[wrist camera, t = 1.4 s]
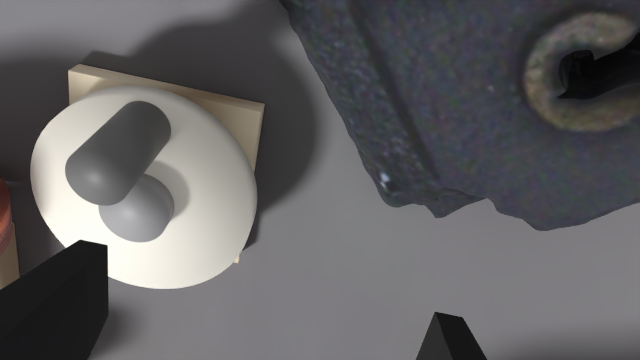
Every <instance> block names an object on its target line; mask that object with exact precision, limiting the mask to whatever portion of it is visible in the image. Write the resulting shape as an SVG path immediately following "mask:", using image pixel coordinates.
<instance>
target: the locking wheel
mask: <svg viewBox="0 0 640 360" xmlns="http://www.w3.org/2000/svg"><path fill="white" fill-rule="evenodd" d="M30 178H31V185H32V191H33V194H34V198H35V201H36V204H37V206H38V208H39V211H40V213H41V215H42V217H43V219H44V220H45V222H46V224H47V225H48V227H49V228H50V230H51V231H52V232H53V234H54V235H55V236H56V238H57V239H58V240H59V241H60V242H61V243H62V244H63V245H64V246H65V247H66V248H67V247H69V246H70V245H72V244H73V243H75V242H77V241H78V240H85V241H90V242H95V243H100V244H105V245H108V276H109V277H111V278H113V279H116V280H119V281H122V282H125V283H128V284H132V285H136V286H141V287H147V288H157V289H173V288H182V287H188V286H192V285H195V284H199V283H202V282H204V281H207V280H209V279H211V278H213V277H215V276H216V275H218V274H220V273H221V272H223V271H224V270H225V269H226V268H227V267H229V266H230V265H231V264H232V263H233V261H234V260H235V259H236V258H237V257H238V256H239V254H240V252H241V251H242V249H243V248H244V246H245V243H246V241H247V239H248V236H249V233H250V231H251V228H252V225H253V222H254V218H255V214H256V209H257V186H256V181H255V176H254V173H253V170H252V167H251V164H250V162H249V160H248V158H247V156H246V154H245V152H244V150H243V148H242V147H241V145H240V144H239V142H238V141H237V140H236V138H235V137H234V136H233V134H232V133H231V132H230V131H229V130H228V129H227V128H226V127H225V125H224V124H222V123H221V122H220V121H219V120H218V119H217V118H216V117H215V116H213V115H212V114H211V113H209V112H208V111H206V110H205V109H204V108H202V107H201V106H199V105H197V104H196V103H194V102H192V101H190V100H188V99H186V98H184V97H182V96H179V95H177V94H174V93H172V92H169V91H165V90H162V89H158V88H153V87H147V86H138V85H122V86H113V87H108V88H104V89H100V90H97V91H94V92H92V93H89V94H87V95H85V96H83V97H81V98H80V99H78V100H77V101H75V102H74V103H72V104H71V105H70V106H68V107H67V108H66V109H64V110H63V111H62V112H60V113H59V114H58V115H57V116H56V117H55V118H53V119H52V120H51V121H50V122H49V123H48V125H47V126H46V127H45V128H44V130H43V131H42V132H41V134H40V136H39V138H38V140H37V142H36V144H35V147H34V150H33V153H32V159H31V165H30Z"/></svg>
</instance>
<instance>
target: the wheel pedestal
mask: <svg viewBox="0 0 640 360" xmlns="http://www.w3.org/2000/svg"><path fill="white" fill-rule="evenodd" d="M68 78H69V104H70V105H71V104H72V103H74V102H75V101H77V100H78V99H80V98H81V97H83V96H85V95H87V94H89V93H92V92H94V91H97V90H100V89H104V88H108V87H113V86H122V85H138V86H147V87H153V88H158V89H162V90H165V91H169V92H172V93H174V94H177V95H179V96H182V97H184V98H186V99H188V100H190V101H192V102H194V103H196V104H197V105H199V106H201V107H202V108H204V109H205V110H206V111H208V112H209V113H211V114H212V115H213V116H215V117H216V118H217V119H218V120H219V121H220V122H221V123H222V124H224V125H225V127H226V128H227V129H228V130H229V131H230V132H231V133H232V134H233V136H234V137H235V138H236V140H237V141H238V142H239V144H240V145H241V147H242V148H243V150H244V152H245V154H246V156H247V158H248V160H249V162H250V164H251V167H252V170H253V173H254V171H255V165H256V158H257V152H258V146H259V139H260V133H261V126H262V120H263V113H264V107H265V104H263V103H258V102H253V101H249V100H244V99H239V98H235V97H230V96H226V95H221V94H216V93H212V92H207V91H202V90H198V89H193V88H189V87H184V86H179V85H175V84H170V83H165V82H161V81H156V80H152V79H147V78H142V77H138V76H133V75H128V74H124V73H119V72H115V71H110V70H105V69H101V68H96V67H91V66H87V65H82V64H78V65H76V66H75V67H73V68H71V69H70V70H68ZM241 253H242V251H241V252H240V254H239V256H238V257H237V258H236V259H235V260H234V261H233V262H235V263H238V262H239V259H240V256H241Z"/></svg>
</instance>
